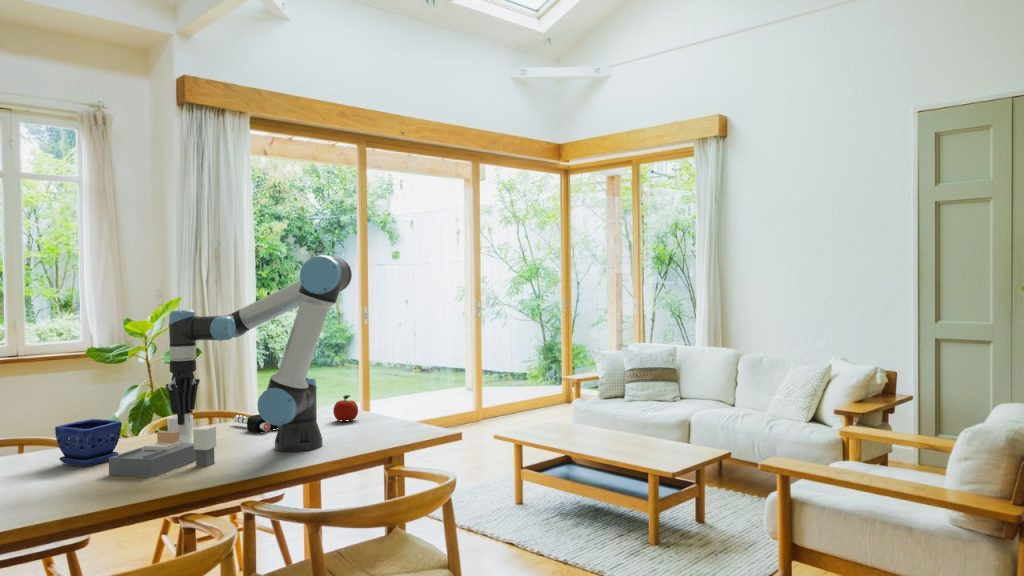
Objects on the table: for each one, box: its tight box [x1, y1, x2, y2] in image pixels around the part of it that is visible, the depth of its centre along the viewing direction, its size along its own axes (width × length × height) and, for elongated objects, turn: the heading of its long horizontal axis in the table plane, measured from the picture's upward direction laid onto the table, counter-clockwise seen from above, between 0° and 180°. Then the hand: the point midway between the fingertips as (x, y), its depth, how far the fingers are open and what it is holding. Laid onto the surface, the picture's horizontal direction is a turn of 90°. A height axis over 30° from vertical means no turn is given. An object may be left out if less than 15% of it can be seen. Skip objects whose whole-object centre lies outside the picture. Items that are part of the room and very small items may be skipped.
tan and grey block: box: [143, 430, 181, 451], centre depth 207 cm, size 7×7×4 cm
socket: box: [108, 442, 196, 478], centre depth 204 cm, size 14×20×6 cm
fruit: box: [333, 394, 359, 421], centre depth 271 cm, size 10×10×10 cm
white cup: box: [166, 414, 194, 443], centre depth 231 cm, size 8×8×10 cm
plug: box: [193, 425, 217, 467], centre depth 206 cm, size 4×4×11 cm
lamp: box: [233, 414, 280, 434], centre depth 259 cm, size 11×5×25 cm
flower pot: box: [54, 418, 123, 467], centre depth 211 cm, size 13×13×12 cm
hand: (183, 434), depth 216 cm, fingers closed
